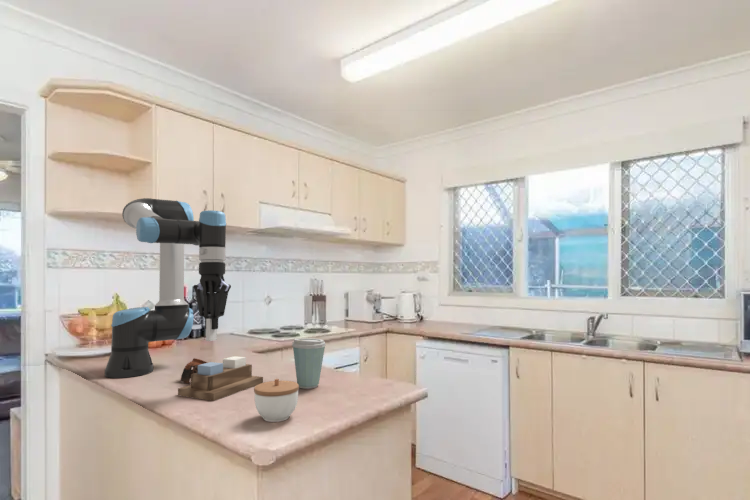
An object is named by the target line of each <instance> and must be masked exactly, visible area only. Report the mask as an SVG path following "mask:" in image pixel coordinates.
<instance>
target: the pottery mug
mask: <svg viewBox="0 0 750 500" xmlns="http://www.w3.org/2000/svg"><path fill="white" fill-rule="evenodd" d="M205 363H209V362H207V361H206V360H203V359H200V358H195V357H193V359H192V361H189V362H188V363H187V364H186V365H185V366H184V368H183V370H182V373H181V374H180V382H181V383H182V382H183V383H186V384H188V385H190V382H191V374H194V373H198V365H201V364H205Z"/></svg>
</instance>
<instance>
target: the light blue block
mask: <svg viewBox="0 0 750 500" xmlns="http://www.w3.org/2000/svg"><path fill="white" fill-rule="evenodd" d="M221 372H223V362H215V361H214V362H213V361H210V362H208V363H205V364H201V365H198V374H201V375H209V376H211V375H214V374H218V373H221Z"/></svg>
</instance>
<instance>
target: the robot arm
mask: <svg viewBox="0 0 750 500" xmlns="http://www.w3.org/2000/svg"><path fill="white" fill-rule="evenodd" d="M122 219H123V221H124V223H126V224H127V225H128V226H129V227H131V228H134V229H136V230H135V231H136V232H135V235H136V238H137V241H139V242H140V243H148V244H159V281H158V283H159V285H158V287H159V291H158V292H159V293H158V294H159V295H158V296H159V297H158V299H159V300H158V301H157V303H155V304H154V310H153V309H152V310H151V309H150V307H149V306H139V307H133V308H127V309H122V310H118V311H116V312H114V313H113V315H112V321H111V344H110V345H111V348H110V349H111V351H110V355H109V358H108V361H107V364H106V366H105V368H104V377H106V378H108V379H109V378H110V379H111V378H112V379H114V378H115V379H120V378H121V379H123V378H134V377H138V376H139V377H140V376H144V375H147V374H150V373H152V372H153V371H154V363H153V361H152V360H153V359H152V358H151V354H150V352H149V343H152V342H161V341H163V342H164V341H171V340H172V341H173V340H174V341H176V340H182V339H185V338H187V337H188V336H189V335H190V334H191V332H192V329H193V325H194V310H193V308H192V307H191V308H190V307H189V303H188V302H187V301H186V300H185V245H193V246H198V247H199V248H198V260H199V263H198V274H199V275H200V279H199V282H198V284H197V283H196V284H194V285H193V290H194V292H195V296H196V301H197V302H196V303H197V307H198V315H199V316H200V317H203V318H204V329H205V330H206V331H205V342H212V341H216V340H217V339H218V336H217V335H218V329H219V318H220V317H224V316H225V313H226V312H225V311H226V305H227V301H228V296H229V292H230V289H231V287H232V286H231V284H227V283H226V282H225V278H224V275H225V274H226V263H225V262H224V261H226V240H227V239H226V238H227V237H226V231H227V229H226V228H227V227H226V226H227V219H226V214H225V212H224V211H221V210H220V211H219V210H212V209H211V210H209V209H208V210H202V211H201V212H199V218H198V220H194V219H195V218H194V212H193V209H192V207H191V205H190V204H189V203H187V202H185V201H178V200H168V199H159V198H158V199H157V198H151V197H150V198H148V197H146V198H145V197H144V198H137V199H134V200H131V201H130V202H128V203H127V204H125V206H124V207H123V208H122Z"/></svg>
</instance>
